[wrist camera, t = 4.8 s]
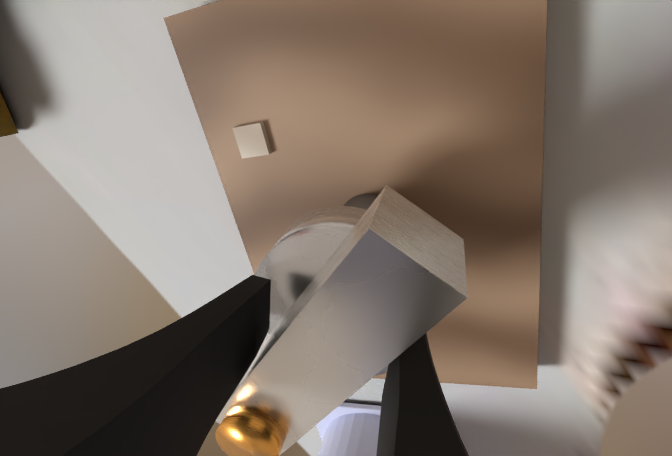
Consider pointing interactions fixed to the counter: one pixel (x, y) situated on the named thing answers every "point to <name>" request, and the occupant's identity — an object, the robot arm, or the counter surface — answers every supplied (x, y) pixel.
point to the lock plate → (389, 139)
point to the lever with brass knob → (340, 314)
